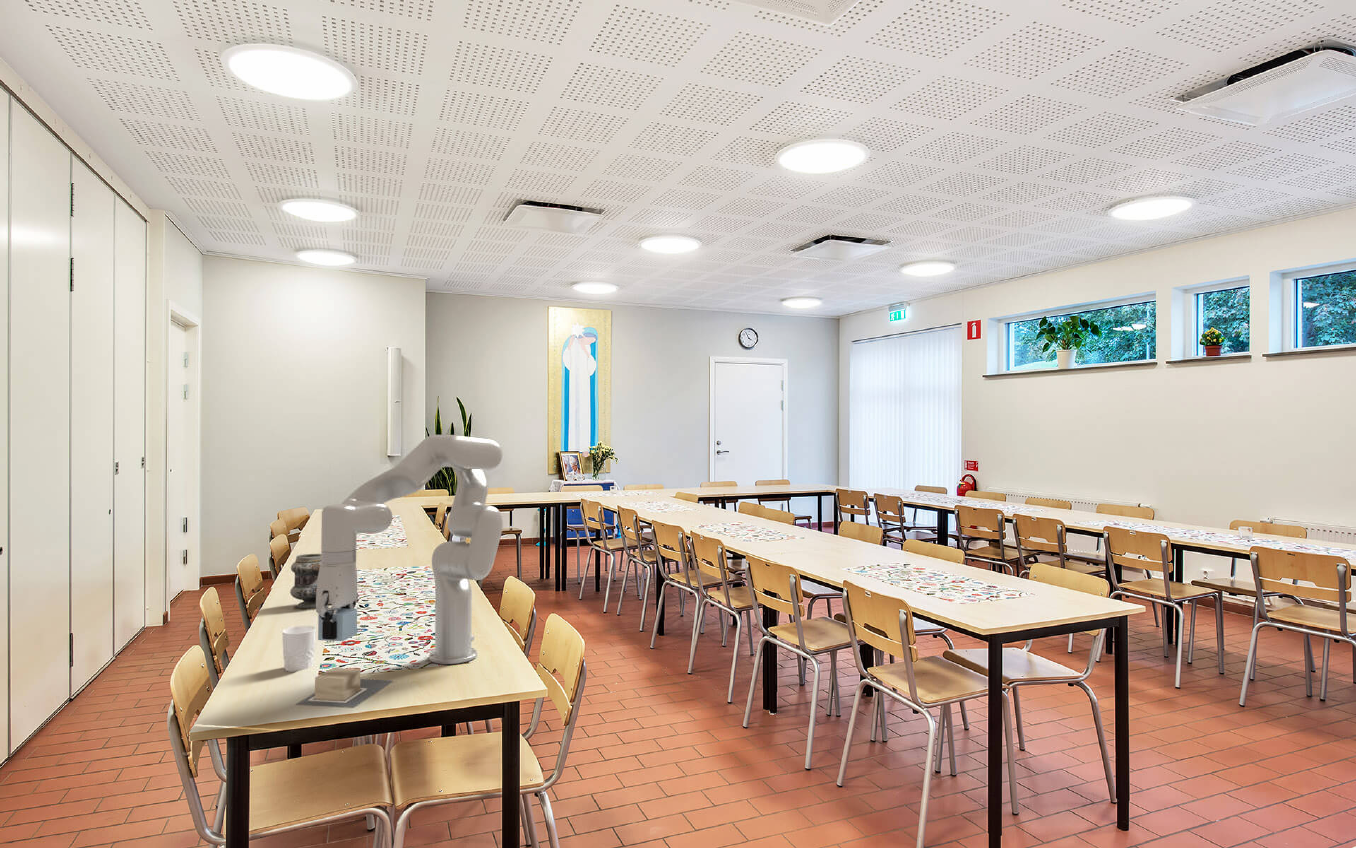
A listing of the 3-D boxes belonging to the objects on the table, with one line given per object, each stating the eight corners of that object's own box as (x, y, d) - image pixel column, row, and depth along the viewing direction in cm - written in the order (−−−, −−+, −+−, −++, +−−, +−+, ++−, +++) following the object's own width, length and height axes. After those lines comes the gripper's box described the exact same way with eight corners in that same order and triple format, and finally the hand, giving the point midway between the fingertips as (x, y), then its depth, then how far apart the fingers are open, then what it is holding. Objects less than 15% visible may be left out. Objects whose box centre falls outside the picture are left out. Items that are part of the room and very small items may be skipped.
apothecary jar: (323, 601, 272) (323, 551, 272) (332, 607, 262) (333, 555, 263) (286, 606, 264) (286, 554, 264) (294, 612, 255) (295, 559, 255)
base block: (332, 688, 180) (332, 668, 180) (360, 690, 179) (360, 669, 179) (315, 699, 173) (315, 677, 173) (343, 701, 172) (343, 679, 172)
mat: (340, 679, 188) (340, 677, 188) (393, 682, 186) (394, 680, 186) (295, 706, 170) (295, 704, 170) (353, 709, 168) (353, 707, 168)
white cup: (307, 661, 202) (307, 624, 202) (321, 667, 197) (321, 629, 197) (276, 668, 196) (276, 630, 196) (290, 675, 191) (290, 635, 191)
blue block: (333, 633, 179) (333, 608, 180) (356, 634, 179) (357, 609, 179) (318, 640, 174) (318, 614, 174) (342, 641, 173) (342, 615, 173)
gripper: (344, 551, 185) (343, 625, 185) (300, 563, 168) (299, 644, 168) (373, 552, 184) (372, 626, 184) (332, 564, 167) (331, 646, 167)
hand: (337, 634), depth 176 cm, fingers closed on blue block, 6 cm apart
